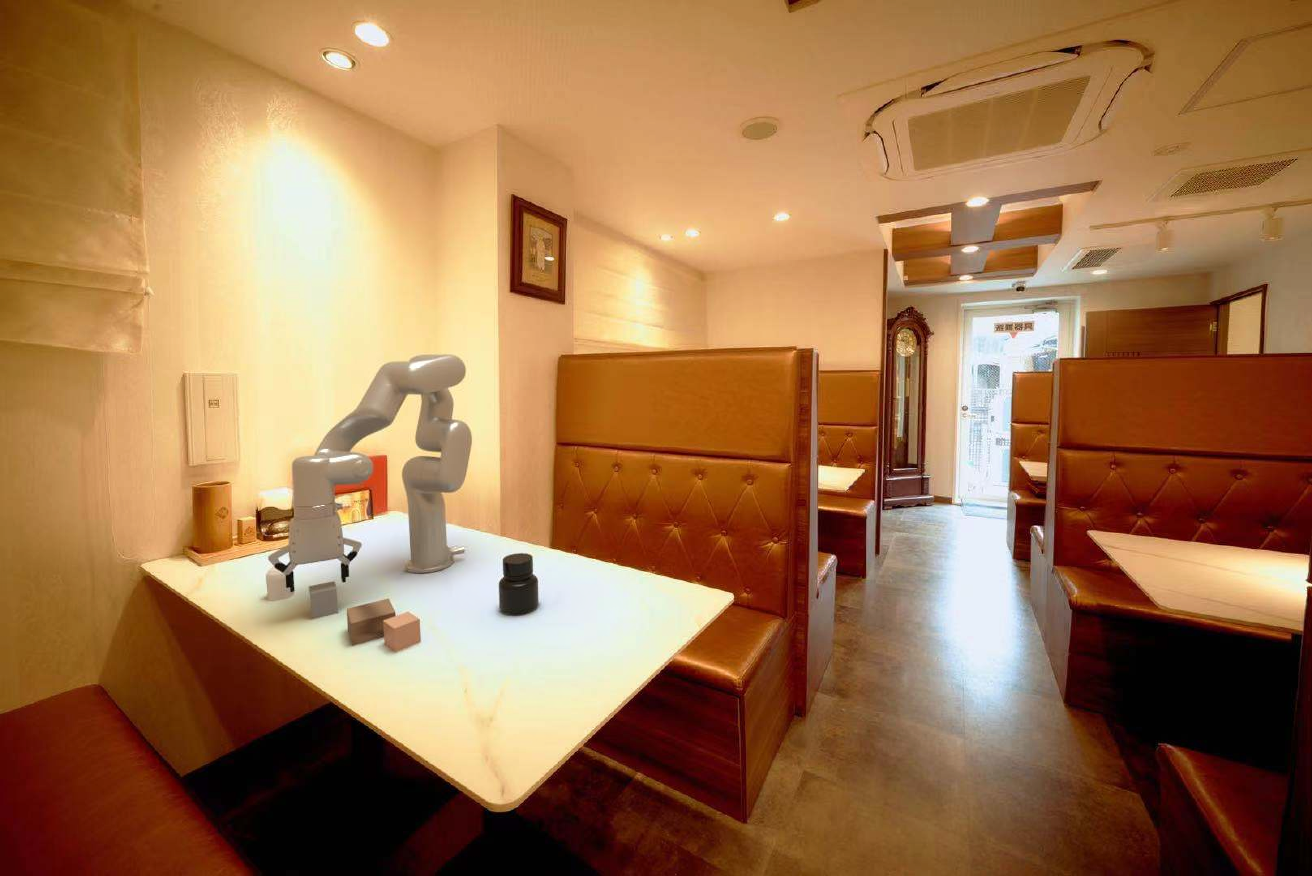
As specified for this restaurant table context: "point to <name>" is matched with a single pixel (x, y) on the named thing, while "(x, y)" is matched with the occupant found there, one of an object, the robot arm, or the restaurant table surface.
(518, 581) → the ink bottle
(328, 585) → the grey block
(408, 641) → the terracotta cube
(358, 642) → the walnut block
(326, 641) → the restaurant table surface
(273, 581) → the capsule
